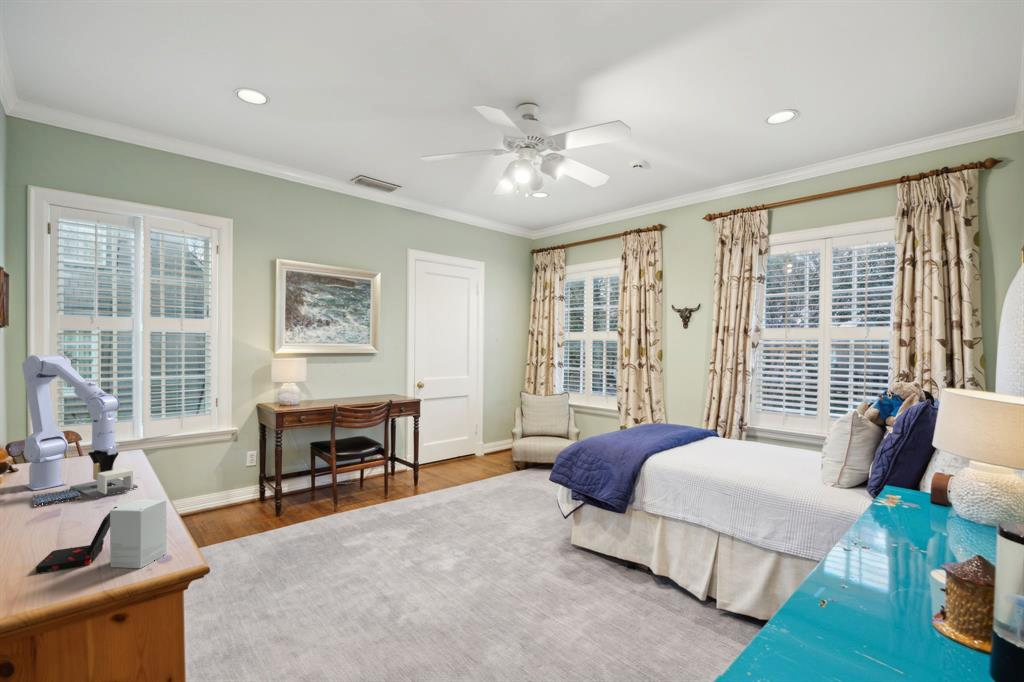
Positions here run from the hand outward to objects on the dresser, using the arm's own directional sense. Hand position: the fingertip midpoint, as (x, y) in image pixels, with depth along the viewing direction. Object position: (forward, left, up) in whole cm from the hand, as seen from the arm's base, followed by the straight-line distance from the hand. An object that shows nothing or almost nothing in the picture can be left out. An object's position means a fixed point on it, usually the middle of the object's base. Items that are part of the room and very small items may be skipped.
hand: (103, 473), depth 157 cm
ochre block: (0, 0, -2) cm, 2 cm away
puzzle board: (+1, 0, -5) cm, 5 cm away
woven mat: (+2, -12, -6) cm, 13 cm away
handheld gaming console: (+59, -23, -5) cm, 63 cm away
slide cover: (+10, 0, -4) cm, 10 cm away
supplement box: (+71, -16, -5) cm, 73 cm away
